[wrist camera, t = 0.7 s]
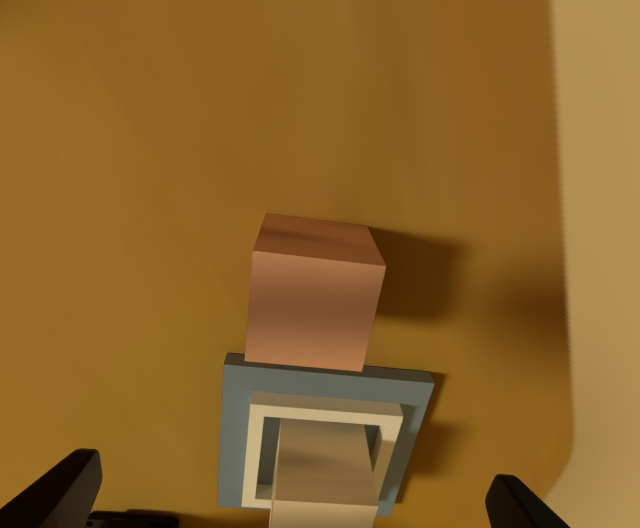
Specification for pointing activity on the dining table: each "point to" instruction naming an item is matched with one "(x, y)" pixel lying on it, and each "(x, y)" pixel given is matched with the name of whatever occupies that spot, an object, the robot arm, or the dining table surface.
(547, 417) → the dining table surface
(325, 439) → the base block
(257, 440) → the board
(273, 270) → the top block
